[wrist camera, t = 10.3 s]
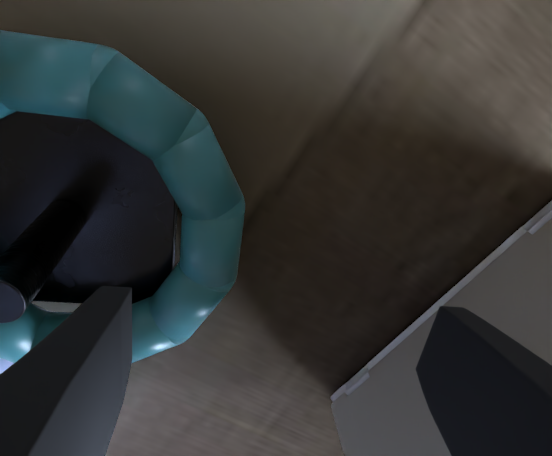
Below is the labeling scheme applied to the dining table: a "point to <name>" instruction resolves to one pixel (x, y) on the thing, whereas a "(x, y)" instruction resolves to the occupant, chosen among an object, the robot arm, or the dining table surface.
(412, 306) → the dining table surface
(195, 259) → the teal segmented ring
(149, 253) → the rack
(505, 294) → the laptop
